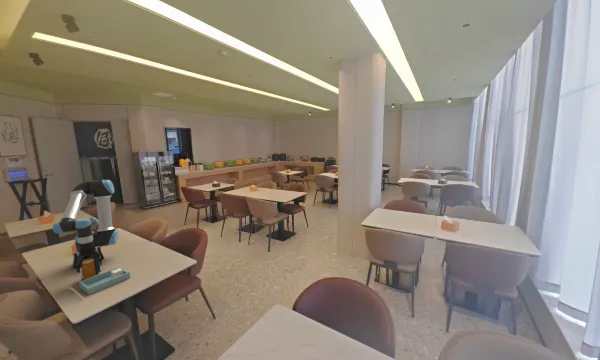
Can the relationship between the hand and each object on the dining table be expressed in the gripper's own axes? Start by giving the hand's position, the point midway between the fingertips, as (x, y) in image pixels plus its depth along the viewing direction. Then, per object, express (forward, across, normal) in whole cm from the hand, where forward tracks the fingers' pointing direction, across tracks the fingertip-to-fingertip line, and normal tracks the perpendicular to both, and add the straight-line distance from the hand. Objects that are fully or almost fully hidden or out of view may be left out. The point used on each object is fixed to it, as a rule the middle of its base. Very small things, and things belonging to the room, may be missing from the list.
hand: (90, 273), depth 158 cm
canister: (+5, +1, 0) cm, 5 cm away
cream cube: (+4, +10, -14) cm, 18 cm away
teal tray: (+5, +3, -14) cm, 16 cm away
